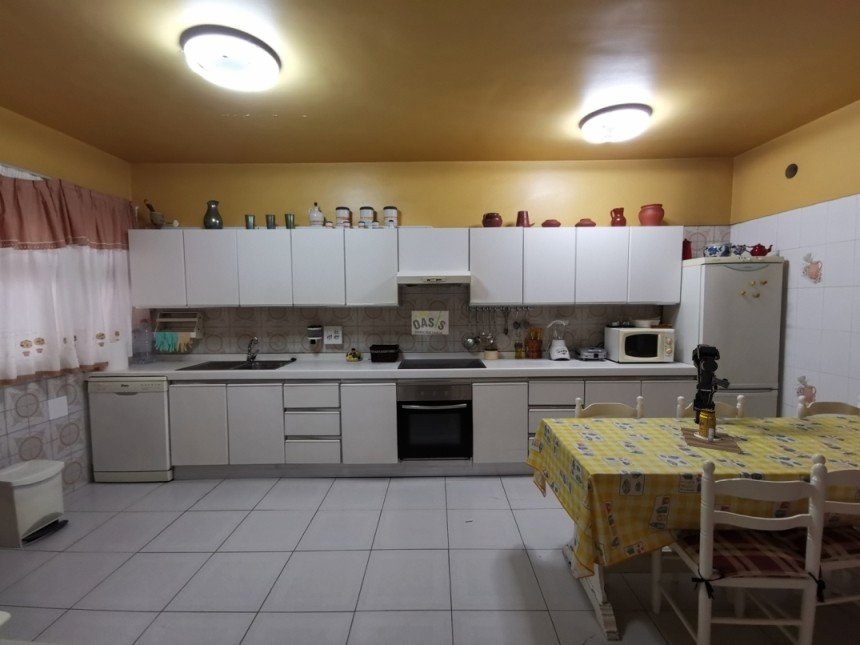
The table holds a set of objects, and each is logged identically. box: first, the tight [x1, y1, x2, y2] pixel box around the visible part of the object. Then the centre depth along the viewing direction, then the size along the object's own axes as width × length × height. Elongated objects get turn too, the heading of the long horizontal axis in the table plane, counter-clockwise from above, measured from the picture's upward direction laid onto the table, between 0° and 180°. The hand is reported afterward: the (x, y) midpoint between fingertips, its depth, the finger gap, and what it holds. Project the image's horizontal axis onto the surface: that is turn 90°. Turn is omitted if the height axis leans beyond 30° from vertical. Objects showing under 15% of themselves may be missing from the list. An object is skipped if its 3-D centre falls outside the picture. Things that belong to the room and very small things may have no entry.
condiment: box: [696, 409, 725, 439], centre depth 168 cm, size 7×8×12 cm
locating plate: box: [680, 427, 741, 454], centre depth 167 cm, size 22×18×7 cm
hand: (708, 404), depth 177 cm, fingers open, 9 cm apart
